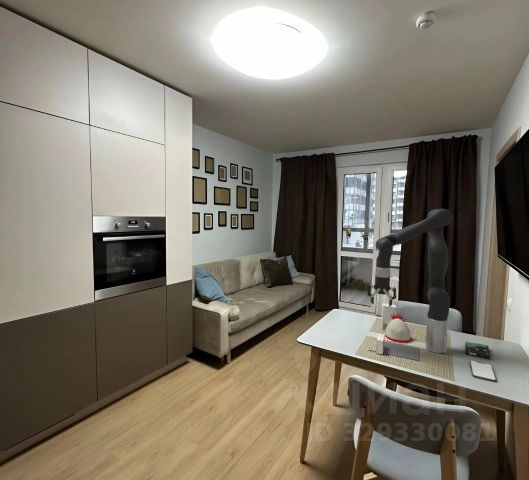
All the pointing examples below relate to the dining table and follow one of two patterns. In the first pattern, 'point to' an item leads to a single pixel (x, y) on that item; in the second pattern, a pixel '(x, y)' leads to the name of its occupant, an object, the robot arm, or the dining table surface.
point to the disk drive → (477, 350)
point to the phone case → (482, 371)
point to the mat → (401, 351)
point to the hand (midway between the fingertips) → (381, 305)
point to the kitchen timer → (397, 330)
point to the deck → (380, 343)
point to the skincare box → (387, 314)
